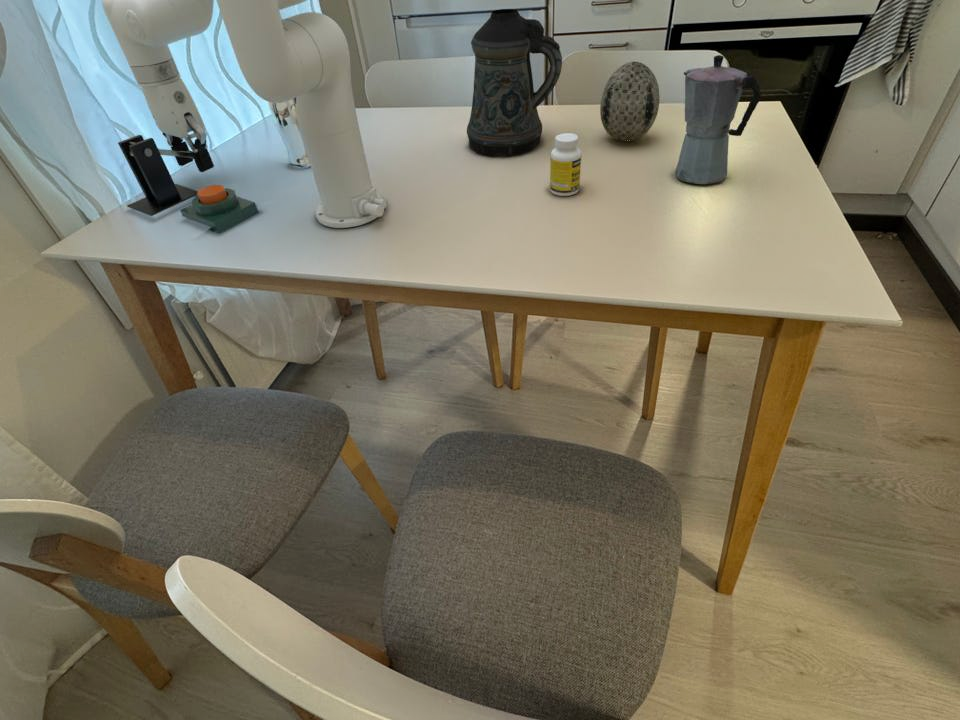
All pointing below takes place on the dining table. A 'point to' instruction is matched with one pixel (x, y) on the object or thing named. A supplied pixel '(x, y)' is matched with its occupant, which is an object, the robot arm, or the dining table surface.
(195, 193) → the lever bracket
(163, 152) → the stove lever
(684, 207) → the dining table surface
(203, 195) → the button
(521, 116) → the beer stein
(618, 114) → the decorative egg
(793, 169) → the dining table surface
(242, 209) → the block
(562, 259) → the dining table surface
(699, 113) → the moka pot
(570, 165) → the supplement bottle
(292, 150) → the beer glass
